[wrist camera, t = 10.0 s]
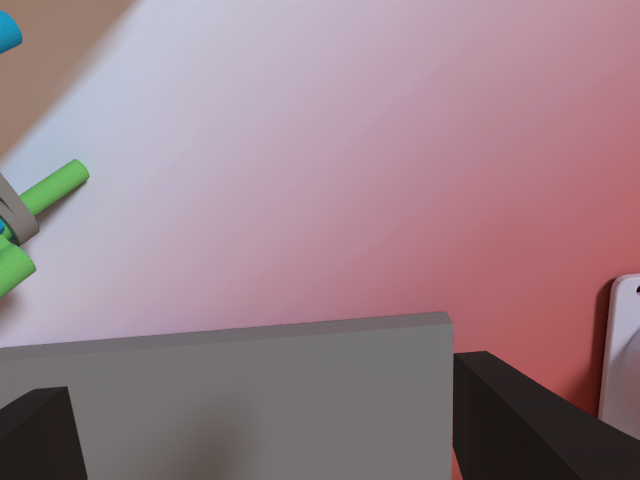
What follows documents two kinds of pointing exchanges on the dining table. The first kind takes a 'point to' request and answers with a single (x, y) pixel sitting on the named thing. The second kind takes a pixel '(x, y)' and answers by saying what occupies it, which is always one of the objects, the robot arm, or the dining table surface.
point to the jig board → (257, 400)
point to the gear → (26, 196)
